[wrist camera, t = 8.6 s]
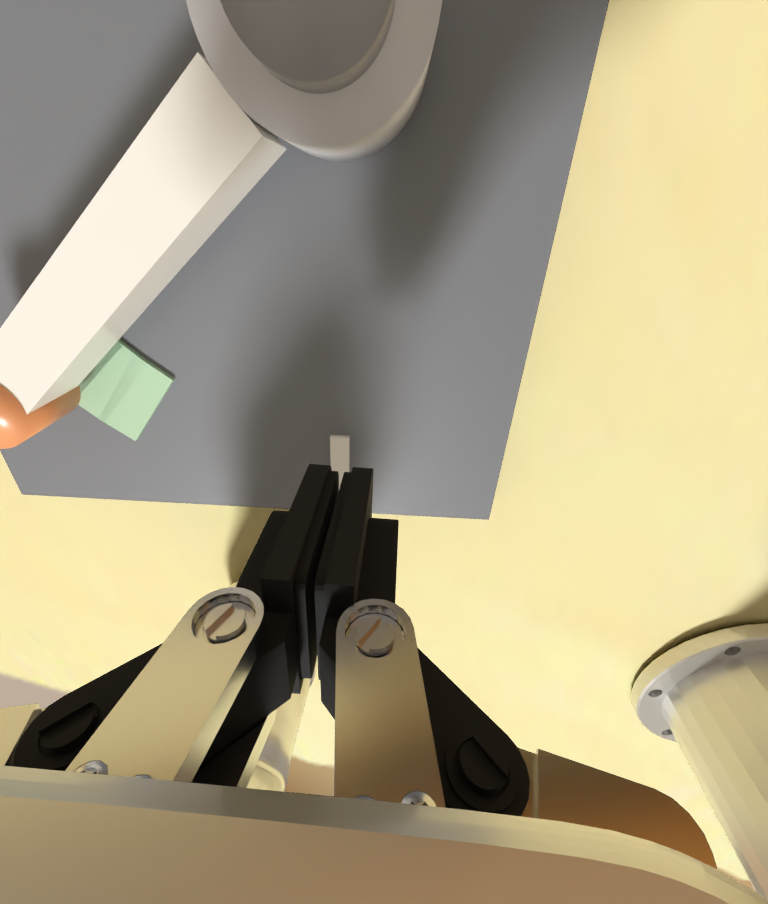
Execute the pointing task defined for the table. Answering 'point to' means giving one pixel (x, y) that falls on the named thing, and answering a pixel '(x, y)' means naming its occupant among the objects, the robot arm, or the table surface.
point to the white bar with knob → (209, 171)
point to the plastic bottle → (280, 741)
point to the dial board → (302, 266)
